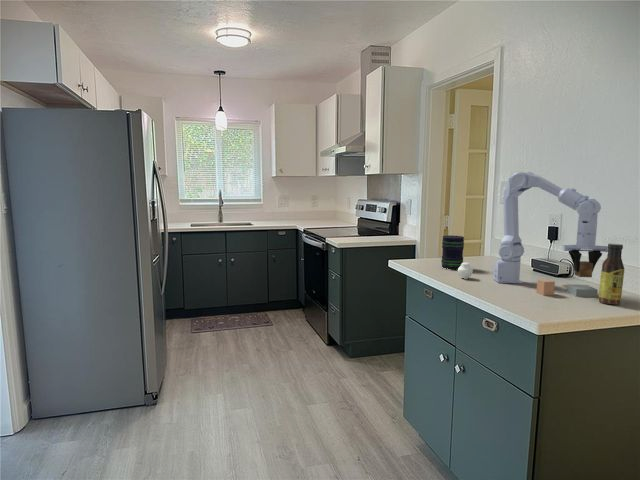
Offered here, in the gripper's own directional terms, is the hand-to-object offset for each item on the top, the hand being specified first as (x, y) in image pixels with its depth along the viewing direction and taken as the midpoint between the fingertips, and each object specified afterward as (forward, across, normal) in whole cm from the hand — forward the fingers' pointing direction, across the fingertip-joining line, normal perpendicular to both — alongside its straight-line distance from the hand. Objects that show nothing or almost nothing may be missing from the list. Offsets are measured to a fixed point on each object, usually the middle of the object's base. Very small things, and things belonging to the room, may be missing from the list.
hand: (583, 271), depth 151 cm
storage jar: (+9, -39, +42) cm, 58 cm away
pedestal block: (+9, 0, 0) cm, 9 cm away
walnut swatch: (+8, +1, +10) cm, 13 cm away
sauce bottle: (+9, +4, -11) cm, 15 cm away
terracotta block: (+8, -13, -2) cm, 16 cm away
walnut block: (+2, 0, 0) cm, 2 cm away
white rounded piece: (+9, -37, +20) cm, 43 cm away
